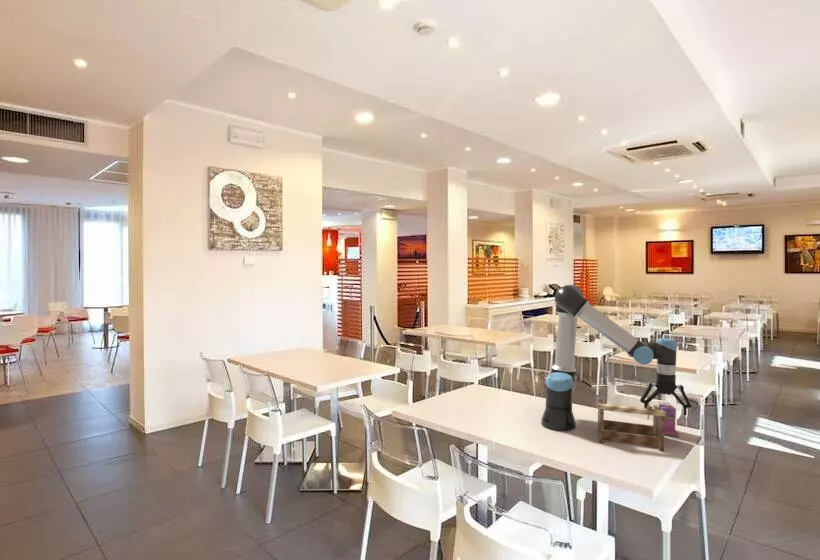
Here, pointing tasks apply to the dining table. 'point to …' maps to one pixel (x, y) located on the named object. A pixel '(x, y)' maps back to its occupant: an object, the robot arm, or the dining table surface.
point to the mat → (673, 435)
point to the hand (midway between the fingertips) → (664, 420)
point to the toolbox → (632, 431)
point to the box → (668, 417)
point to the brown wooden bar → (632, 409)
